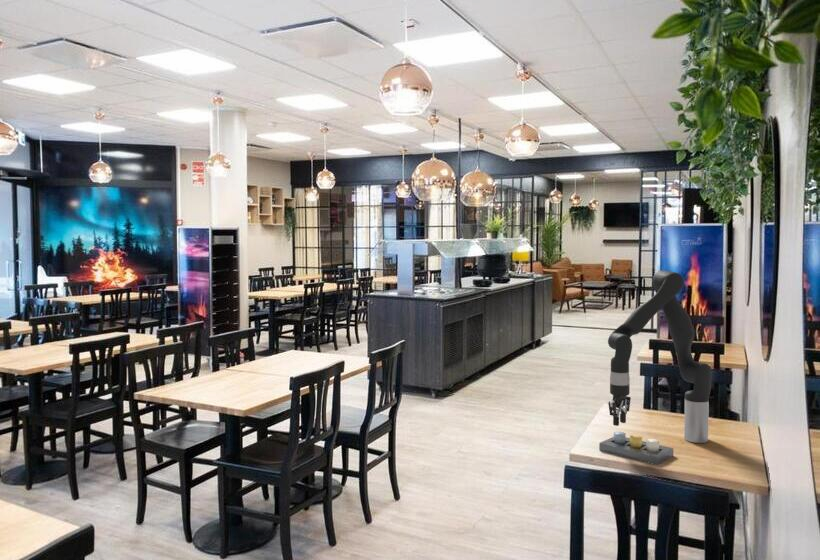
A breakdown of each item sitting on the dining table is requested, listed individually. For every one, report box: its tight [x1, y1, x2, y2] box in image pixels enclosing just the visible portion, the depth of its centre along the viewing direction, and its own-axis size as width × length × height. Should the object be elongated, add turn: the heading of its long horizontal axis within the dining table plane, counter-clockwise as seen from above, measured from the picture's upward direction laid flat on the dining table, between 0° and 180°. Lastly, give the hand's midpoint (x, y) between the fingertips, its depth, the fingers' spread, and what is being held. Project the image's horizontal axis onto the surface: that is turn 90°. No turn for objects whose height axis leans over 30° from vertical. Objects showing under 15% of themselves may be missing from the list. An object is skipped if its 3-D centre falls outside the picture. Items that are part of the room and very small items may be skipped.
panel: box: [598, 436, 674, 466], centre depth 253 cm, size 14×24×3 cm, turn 43°
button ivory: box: [646, 438, 660, 453], centre depth 248 cm, size 5×5×4 cm
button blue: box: [613, 431, 627, 445], centre depth 258 cm, size 5×5×4 cm
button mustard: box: [629, 434, 643, 449], centre depth 253 cm, size 5×5×4 cm
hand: (619, 423), depth 258 cm, fingers open, 5 cm apart
